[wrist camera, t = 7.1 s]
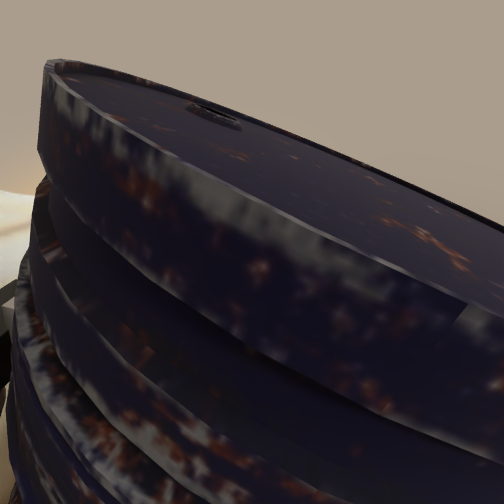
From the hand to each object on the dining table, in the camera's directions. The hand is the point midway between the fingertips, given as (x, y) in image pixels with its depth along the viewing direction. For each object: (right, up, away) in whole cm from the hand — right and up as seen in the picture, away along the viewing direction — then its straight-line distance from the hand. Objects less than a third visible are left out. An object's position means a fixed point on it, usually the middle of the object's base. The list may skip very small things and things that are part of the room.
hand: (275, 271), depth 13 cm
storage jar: (-4, -11, -1) cm, 12 cm away
